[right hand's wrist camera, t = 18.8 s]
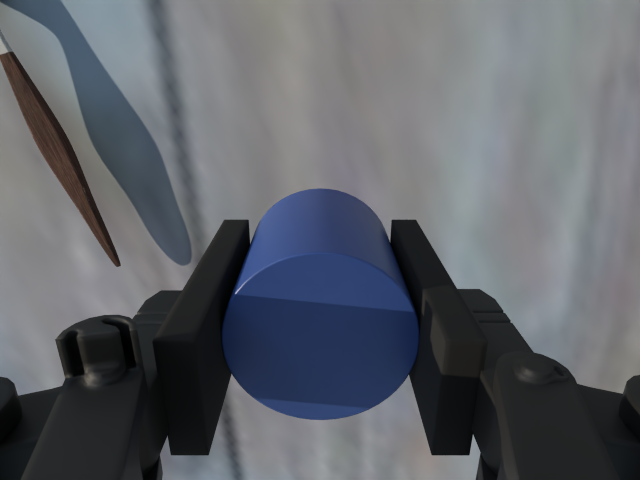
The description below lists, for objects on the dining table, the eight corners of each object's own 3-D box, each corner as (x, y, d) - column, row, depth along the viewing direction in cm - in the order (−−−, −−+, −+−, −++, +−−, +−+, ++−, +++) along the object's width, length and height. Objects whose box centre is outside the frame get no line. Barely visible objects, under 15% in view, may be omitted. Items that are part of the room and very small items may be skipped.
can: (277, 327, 16) (259, 437, 11) (231, 210, 14) (189, 283, 10) (402, 295, 15) (437, 397, 11) (370, 170, 14) (395, 228, 9)
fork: (97, 269, 20) (75, 290, 19) (-134, -147, 15) (-199, -178, 13) (149, 253, 20) (132, 272, 18) (-66, -178, 14) (-123, -213, 13)
